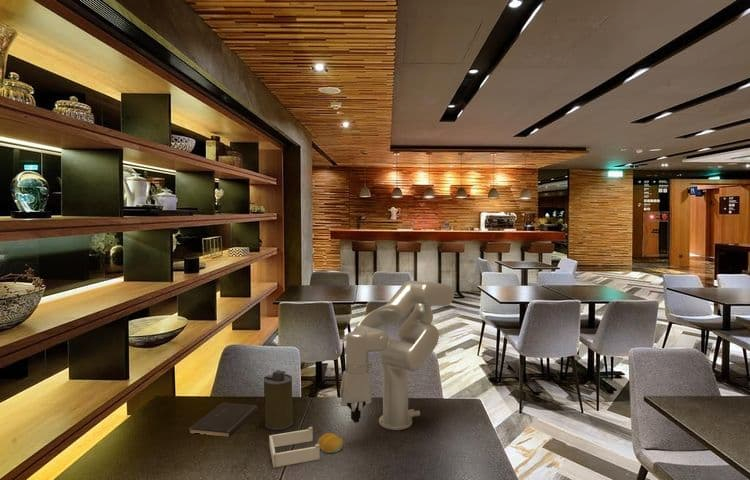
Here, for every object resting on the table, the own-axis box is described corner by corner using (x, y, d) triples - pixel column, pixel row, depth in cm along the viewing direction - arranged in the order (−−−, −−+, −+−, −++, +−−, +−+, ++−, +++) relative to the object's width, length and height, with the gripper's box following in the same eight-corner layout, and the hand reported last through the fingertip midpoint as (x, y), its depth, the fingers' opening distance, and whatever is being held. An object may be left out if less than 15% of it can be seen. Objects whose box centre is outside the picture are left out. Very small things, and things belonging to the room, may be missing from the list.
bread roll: (328, 457, 143) (328, 445, 142) (313, 446, 149) (313, 434, 149) (349, 448, 148) (348, 436, 148) (333, 438, 155) (333, 427, 155)
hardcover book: (188, 434, 159) (188, 428, 158) (222, 407, 181) (222, 402, 181) (229, 438, 156) (229, 432, 155) (258, 410, 178) (258, 405, 178)
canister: (298, 419, 169) (297, 368, 168) (284, 432, 159) (283, 377, 158) (273, 415, 173) (272, 365, 172) (258, 427, 163) (257, 374, 162)
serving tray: (312, 439, 154) (312, 426, 153) (319, 459, 141) (319, 445, 141) (269, 446, 149) (269, 433, 149) (273, 467, 136) (273, 453, 136)
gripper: (373, 363, 156) (372, 414, 157) (332, 366, 152) (331, 419, 152) (380, 369, 149) (379, 423, 150) (338, 373, 144) (337, 428, 145)
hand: (355, 420), depth 151 cm, fingers closed
